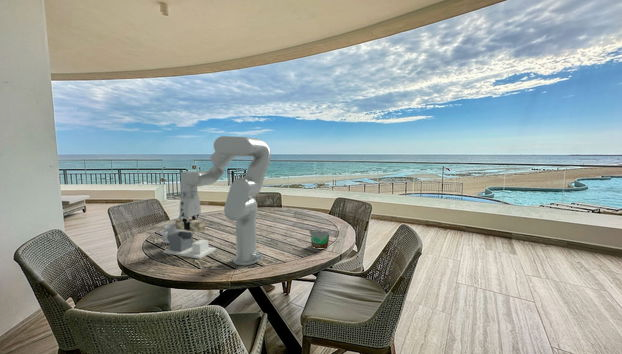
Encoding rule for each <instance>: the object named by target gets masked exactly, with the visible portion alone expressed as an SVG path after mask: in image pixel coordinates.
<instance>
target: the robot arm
mask: <svg viewBox="0 0 622 354" xmlns="http://www.w3.org/2000/svg"><path fill="white" fill-rule="evenodd" d="M213 150H214V152H213V153H212V154H211V155H210V161H211V163H212V164H213V166H211V168H209V170H200V171H199V170H198V171H194V170H193V171H191V170H187V171H186V170H184V171H181V172H180V185H181V186H180V190H181V191H180V197H181V198H180V203H179V216H178V217H177V219H180V220H182V221H183V222H184V229H185V230H184V231H186V230H190V222H189V219H190V217H191V219H192V220H199V219H198V217H199V216H200V215H201V213H202V210H201V200H200V196H199V195H198V187H203V186H210V185H212V184H215V183H216V182H217V181H218V180H219V179H221V177H222V176H223V175H224V173H225V170H226V166H228V165H229V164H230V163H231V162H232V161H233V160H234V159H235V158H236V157H252V158H253V159H251V161H250V163H249V165H248V167H247V172H246V173H245V175H244V176H243V177H238V178H236V179H234V180H233V181H232V183H231V184H230V188H229V189H228V193H227V197H226V201H225V204H224V209H223V210H224V211H223V212H224V215H225V217H226V219H228V220H229V221H231V222H236V223H235V253H236V254H235V255H236V256H235V255H234V257H233V259H232V261H233V263H234V265H237V266H250V265H253V264H255V263H258V262H259V261H263V259H264V255H263V253H259V250H258V249H257V215H258V203H257V200H256V198H254V196H257V195H259V193H260V192H261V189H262V186H263V183H264V180H265V177H266V174H267V170H268V168H269V165H270V162H271V157H272V153H271V149H270V147H269V145H268V144H267V143H266V142H265V141H263V140H262V139H258V138H253V137H247V136H229V135H228V136H227V135H221V136H219V137H217V138H216V139H215V141H214V142H213Z"/></svg>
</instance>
